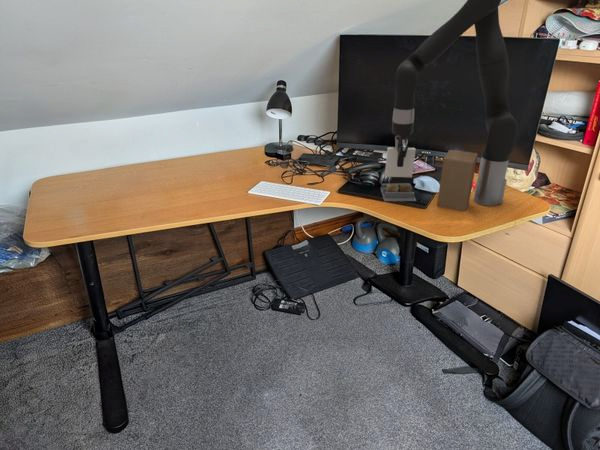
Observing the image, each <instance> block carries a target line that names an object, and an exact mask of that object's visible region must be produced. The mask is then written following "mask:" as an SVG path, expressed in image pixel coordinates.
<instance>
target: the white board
mask: <svg viewBox="0 0 600 450" xmlns="http://www.w3.org/2000/svg"><path fill="white" fill-rule="evenodd" d="M397 155H398V152H397V148H396V147H395V146H394V147H391V146H390V147H387V151H386V159H385V160H386V161H385V168H384V169H385V171H384V177H386V178H413V170H414V164H415V159H416V158H415V157H416V148H415V147H408V149H407V153H406V157H405V158H404V162H403V167H398V166H397V160H398V157H397Z"/></svg>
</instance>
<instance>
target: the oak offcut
mask: <svg viewBox="0 0 600 450" xmlns="http://www.w3.org/2000/svg"><path fill="white" fill-rule="evenodd" d="M386 192H398V185H387V189H386Z"/></svg>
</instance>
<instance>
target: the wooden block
mask: <svg viewBox="0 0 600 450" xmlns="http://www.w3.org/2000/svg"><path fill="white" fill-rule="evenodd" d="M442 161H443V162H442V166H441V167H442V169H441V175H440V181H439V188H438V197H437V203H436V206H437V207H440V208H445V209H451V210H455V211H460V212H466V211H467V209H468V207H469V204H470V201H471V200H470V198H471V194H472V189H473V183H474V177H475V171H476V166H477V161H478V153H477V152H471V151H464V150H456V149H449V150H448V151H447V153H446V154H445V156H444V158H443V160H442Z"/></svg>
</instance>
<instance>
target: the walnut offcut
mask: <svg viewBox="0 0 600 450" xmlns="http://www.w3.org/2000/svg"><path fill="white" fill-rule="evenodd" d="M411 188H412V189H413V186H412V185H400V191H399V192H411Z"/></svg>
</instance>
